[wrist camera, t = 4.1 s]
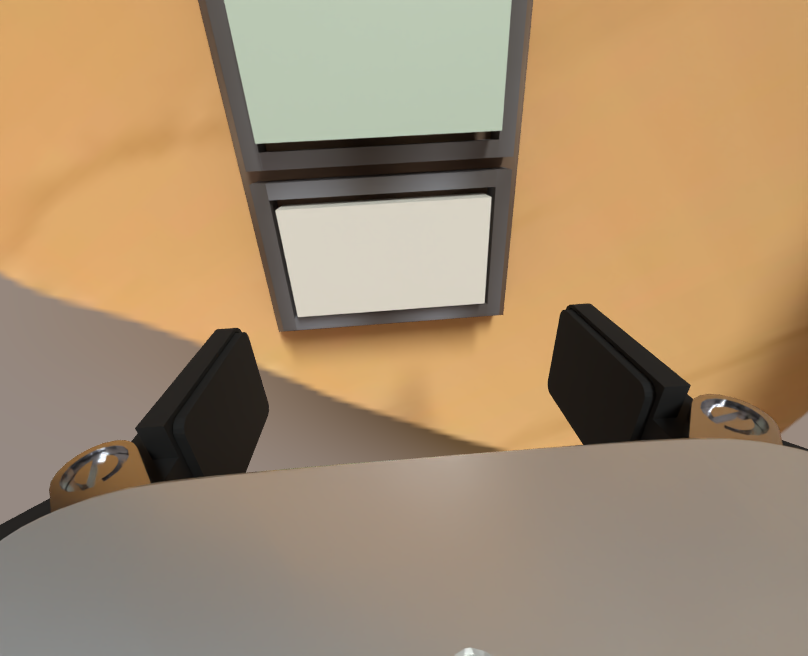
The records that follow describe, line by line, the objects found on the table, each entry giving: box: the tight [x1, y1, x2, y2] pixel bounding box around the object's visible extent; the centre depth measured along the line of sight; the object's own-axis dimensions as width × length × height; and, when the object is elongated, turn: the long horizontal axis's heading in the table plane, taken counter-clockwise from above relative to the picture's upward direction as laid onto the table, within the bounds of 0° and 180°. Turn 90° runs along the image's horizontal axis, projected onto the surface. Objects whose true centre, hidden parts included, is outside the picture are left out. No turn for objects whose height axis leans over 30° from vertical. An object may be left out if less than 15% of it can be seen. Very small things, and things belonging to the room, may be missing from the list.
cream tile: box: [275, 193, 492, 317], centre depth 20 cm, size 11×6×2 cm, turn 93°
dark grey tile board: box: [198, 0, 533, 332], centre depth 17 cm, size 15×28×3 cm, turn 3°
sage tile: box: [224, 0, 512, 144], centre depth 15 cm, size 11×6×2 cm, turn 93°
